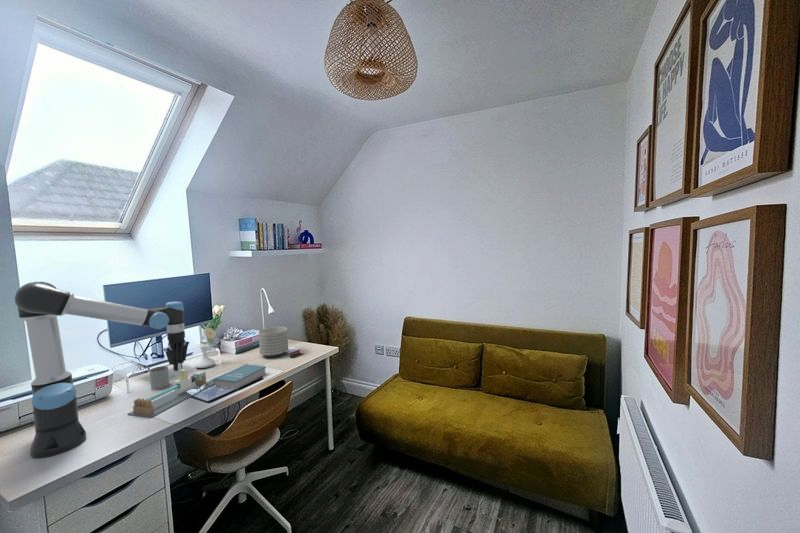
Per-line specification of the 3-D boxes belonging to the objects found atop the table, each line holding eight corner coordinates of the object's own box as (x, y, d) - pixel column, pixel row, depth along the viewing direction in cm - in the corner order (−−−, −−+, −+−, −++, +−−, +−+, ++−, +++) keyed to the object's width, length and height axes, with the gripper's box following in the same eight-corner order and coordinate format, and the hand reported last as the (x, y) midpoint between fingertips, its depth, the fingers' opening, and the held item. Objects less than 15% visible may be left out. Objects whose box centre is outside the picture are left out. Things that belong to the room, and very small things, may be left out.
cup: (159, 389, 176) (158, 372, 176) (147, 389, 178) (145, 371, 177) (173, 383, 185) (171, 366, 184) (161, 382, 186) (159, 365, 186)
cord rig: (151, 417, 147) (150, 402, 146) (127, 414, 150) (126, 399, 149) (214, 384, 182) (213, 371, 181) (193, 382, 185) (192, 370, 184)
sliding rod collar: (181, 390, 167) (180, 372, 166) (174, 390, 168) (173, 372, 168) (191, 385, 173) (190, 368, 172) (184, 385, 174) (183, 367, 173)
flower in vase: (200, 371, 202) (198, 332, 201) (191, 367, 208) (189, 330, 207) (221, 364, 214) (219, 327, 212) (212, 361, 220) (209, 325, 218)
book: (236, 390, 174) (235, 381, 174) (213, 387, 179) (213, 378, 179) (266, 374, 195) (265, 366, 195) (245, 371, 201) (245, 363, 200)
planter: (283, 348, 243) (281, 325, 242) (292, 355, 228) (291, 330, 227) (256, 354, 231) (255, 330, 230) (264, 361, 216) (263, 335, 215)
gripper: (170, 335, 159) (172, 381, 161) (192, 328, 172) (194, 371, 173) (158, 334, 161) (160, 380, 162) (181, 328, 174) (183, 370, 175)
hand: (178, 375), depth 168 cm, fingers closed
